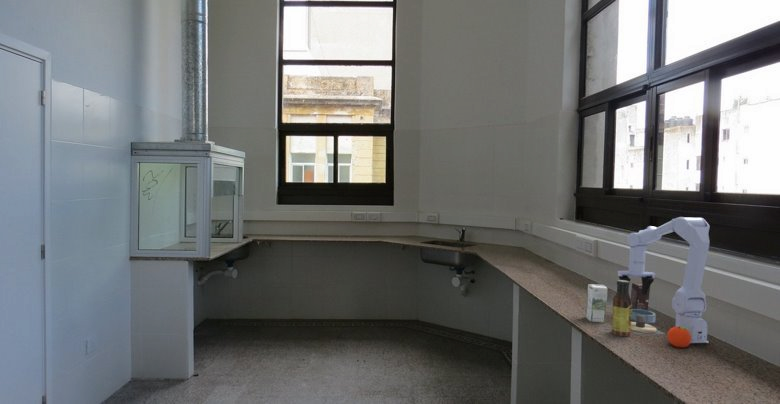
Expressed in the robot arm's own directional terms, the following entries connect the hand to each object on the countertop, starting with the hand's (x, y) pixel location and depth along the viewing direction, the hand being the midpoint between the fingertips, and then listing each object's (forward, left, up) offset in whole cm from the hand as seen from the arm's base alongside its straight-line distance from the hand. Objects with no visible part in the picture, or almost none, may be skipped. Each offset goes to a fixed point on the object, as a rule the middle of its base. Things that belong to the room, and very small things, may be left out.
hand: (635, 293), depth 185 cm
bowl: (-5, 0, -10) cm, 11 cm away
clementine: (-33, +9, -10) cm, 36 cm away
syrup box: (-4, +21, -10) cm, 23 cm away
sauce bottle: (-20, +21, -10) cm, 31 cm away
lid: (-16, +10, -10) cm, 21 cm away
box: (+9, -9, -10) cm, 16 cm away
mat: (-16, +10, -10) cm, 21 cm away
